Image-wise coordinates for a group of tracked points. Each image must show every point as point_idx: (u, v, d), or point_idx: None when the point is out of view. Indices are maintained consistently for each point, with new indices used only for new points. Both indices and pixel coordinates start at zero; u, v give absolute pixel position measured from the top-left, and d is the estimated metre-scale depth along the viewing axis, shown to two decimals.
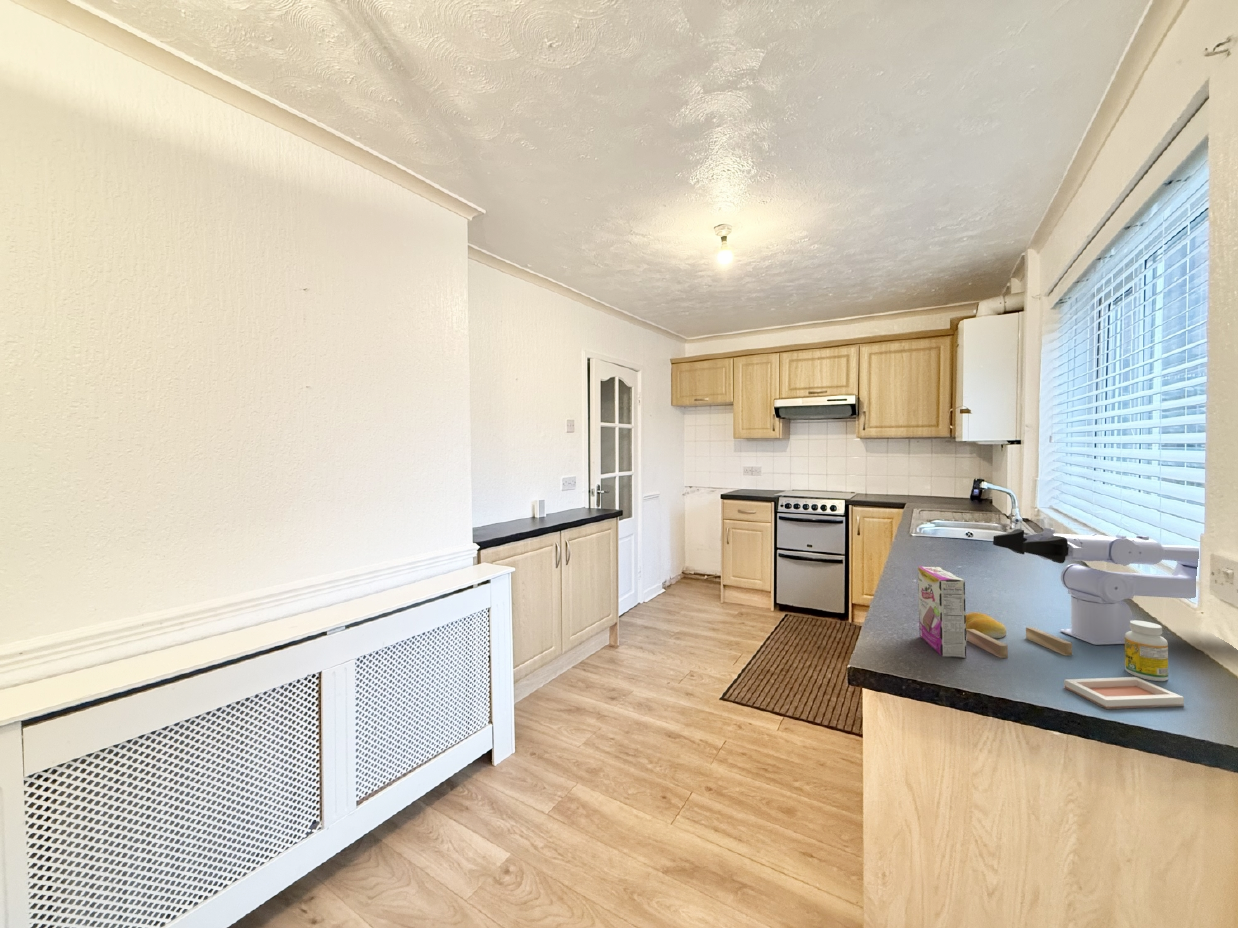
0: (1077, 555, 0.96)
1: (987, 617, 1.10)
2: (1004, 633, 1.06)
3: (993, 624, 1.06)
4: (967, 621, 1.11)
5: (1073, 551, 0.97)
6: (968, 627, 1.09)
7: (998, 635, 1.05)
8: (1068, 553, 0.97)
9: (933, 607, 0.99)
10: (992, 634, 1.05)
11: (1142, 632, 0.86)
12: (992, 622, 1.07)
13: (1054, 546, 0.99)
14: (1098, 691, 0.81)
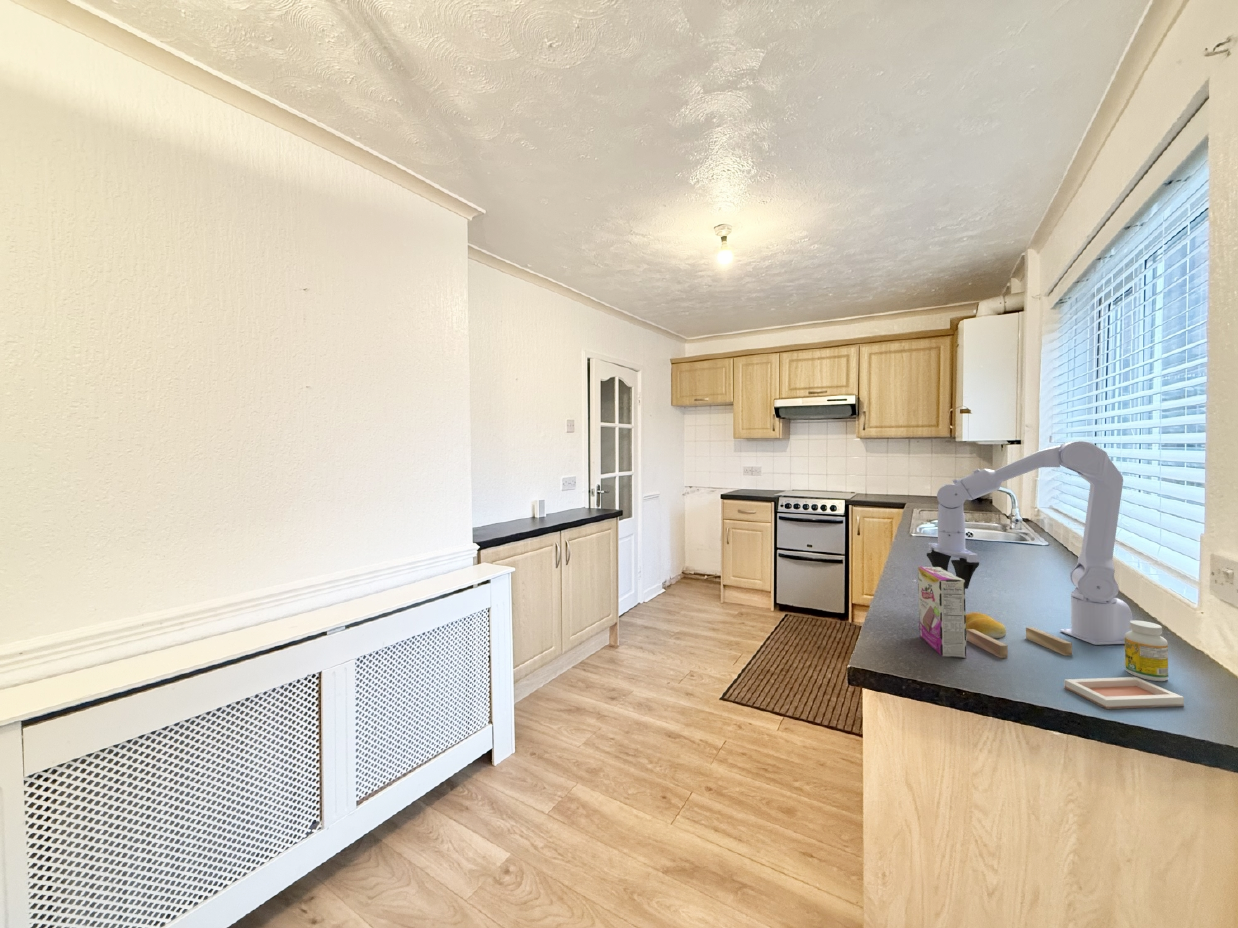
0: (976, 558, 1.12)
1: (987, 617, 1.10)
2: (1004, 633, 1.06)
3: (993, 624, 1.06)
4: (967, 621, 1.11)
5: (972, 561, 1.12)
6: (968, 627, 1.09)
7: (998, 635, 1.05)
8: None
9: (933, 607, 0.99)
10: (992, 634, 1.05)
11: (1142, 632, 0.86)
12: (992, 622, 1.07)
13: None
14: (1098, 691, 0.81)
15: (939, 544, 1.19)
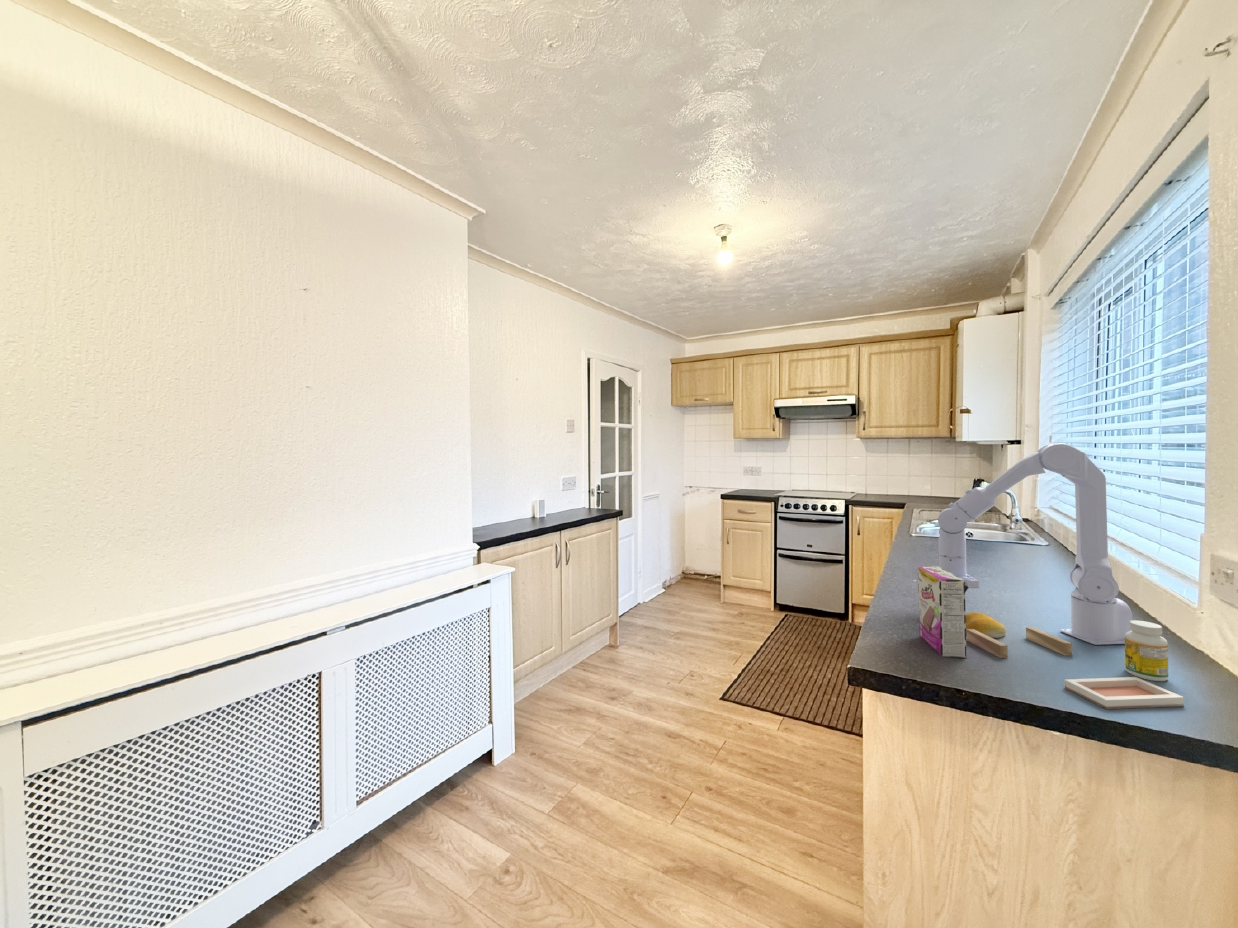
0: (977, 584, 1.12)
1: (986, 617, 1.10)
2: (1004, 633, 1.06)
3: (993, 624, 1.06)
4: (967, 621, 1.11)
5: (974, 587, 1.12)
6: (968, 627, 1.09)
7: (998, 635, 1.05)
8: None
9: (933, 607, 0.99)
10: (992, 633, 1.05)
11: (1142, 632, 0.86)
12: (992, 622, 1.07)
13: None
14: (1098, 691, 0.81)
15: None
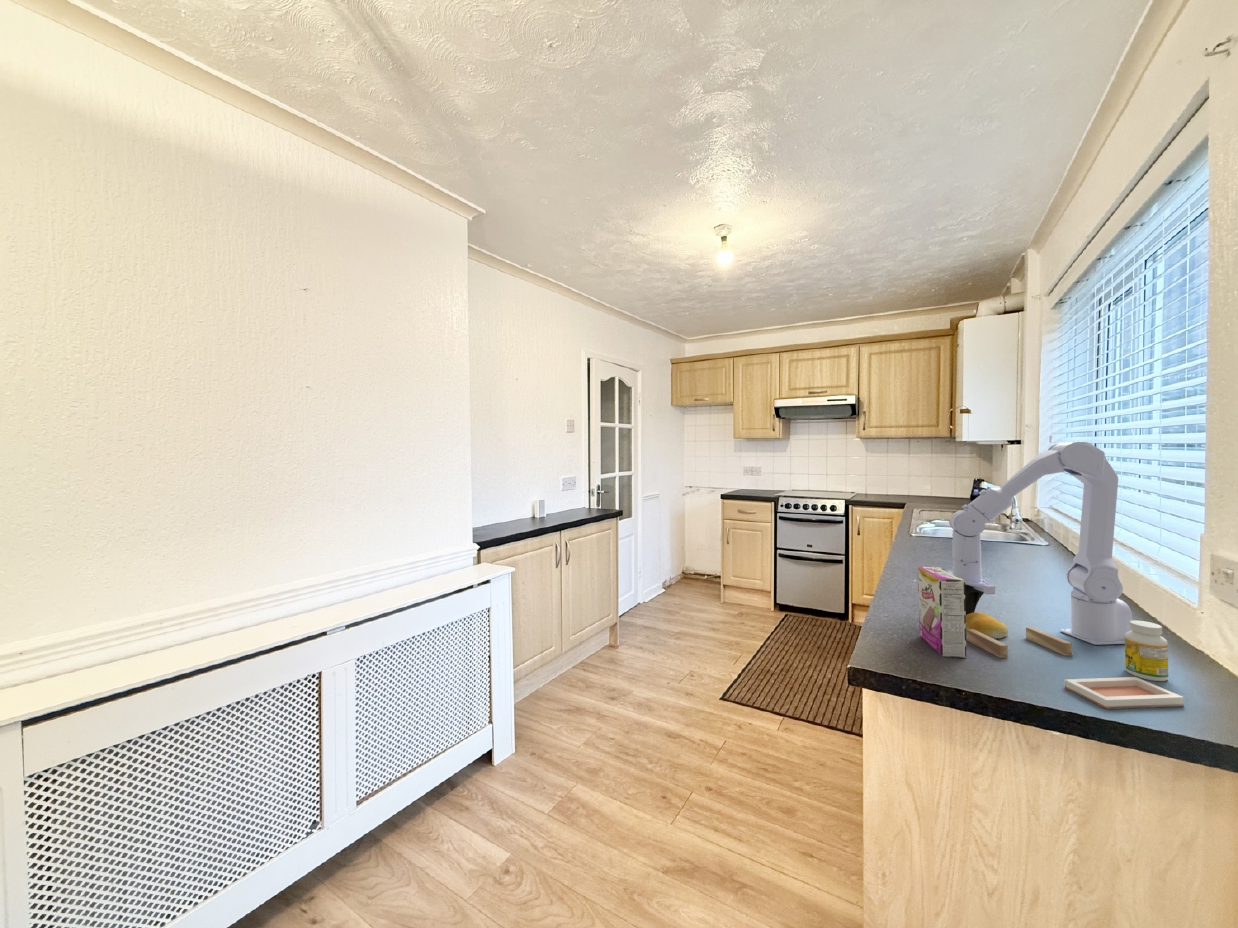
0: (993, 590, 1.07)
1: (988, 617, 1.10)
2: (1006, 633, 1.06)
3: (995, 624, 1.06)
4: (968, 621, 1.10)
5: (990, 593, 1.07)
6: (970, 627, 1.08)
7: (1000, 635, 1.05)
8: None
9: (933, 607, 0.99)
10: (995, 634, 1.05)
11: (1142, 632, 0.86)
12: (994, 622, 1.06)
13: None
14: (1098, 691, 0.81)
15: (954, 573, 1.15)
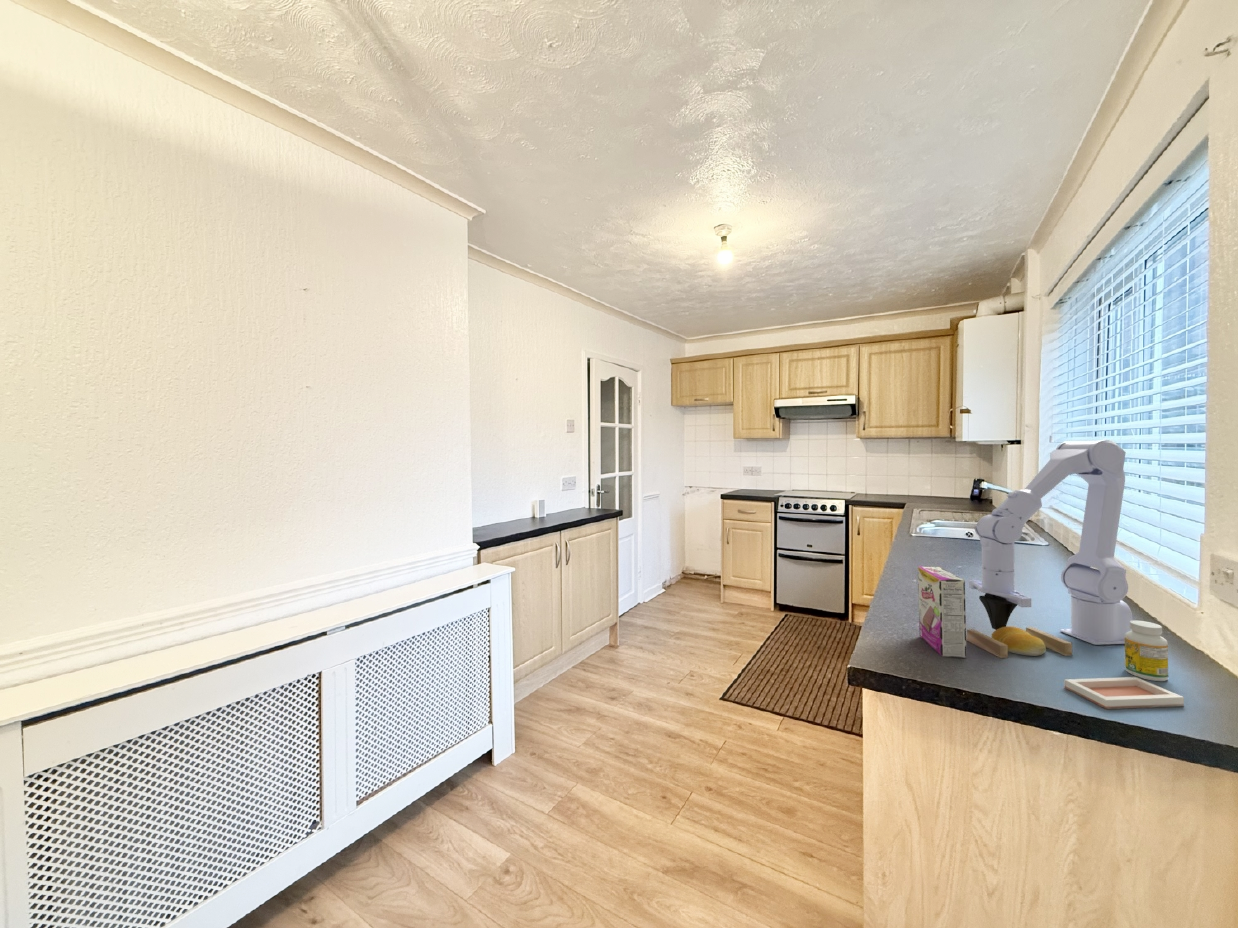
0: (1029, 602, 0.98)
1: (1023, 631, 1.01)
2: (1044, 650, 0.96)
3: (1033, 640, 0.97)
4: (1002, 636, 1.01)
5: (1025, 606, 0.98)
6: (1004, 643, 0.99)
7: (1039, 652, 0.96)
8: None
9: (933, 607, 0.99)
10: (1033, 651, 0.96)
11: (1142, 632, 0.86)
12: (1031, 638, 0.97)
13: None
14: (1098, 691, 0.81)
15: (984, 583, 1.05)
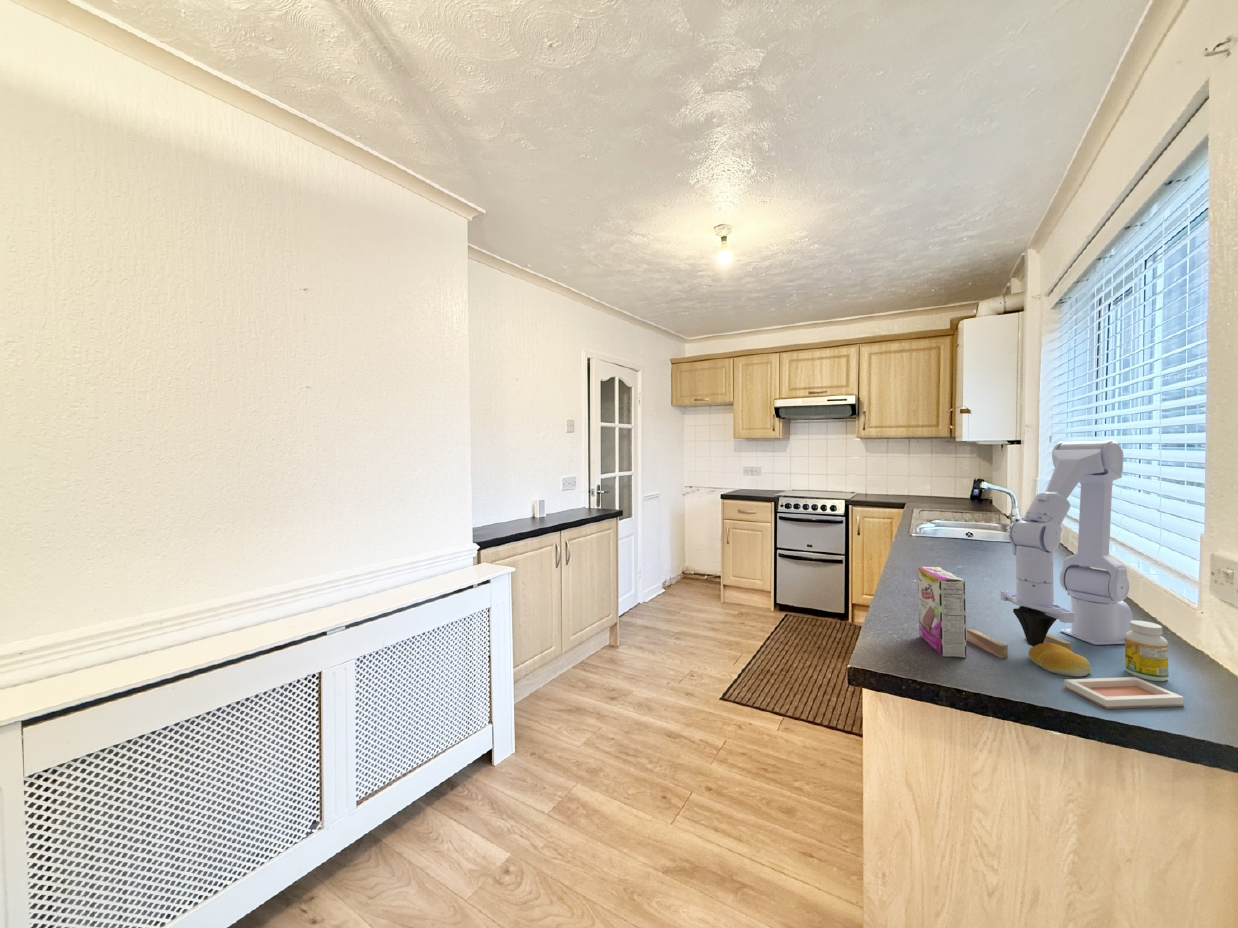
0: (1072, 617, 0.89)
1: (1064, 649, 0.92)
2: (1090, 670, 0.87)
3: (1077, 659, 0.88)
4: (1041, 654, 0.92)
5: (1068, 621, 0.89)
6: (1045, 662, 0.90)
7: (1084, 673, 0.87)
8: None
9: (933, 607, 0.99)
10: (1078, 671, 0.87)
11: (1142, 632, 0.86)
12: (1075, 656, 0.88)
13: None
14: (1098, 691, 0.81)
15: (1019, 595, 0.96)
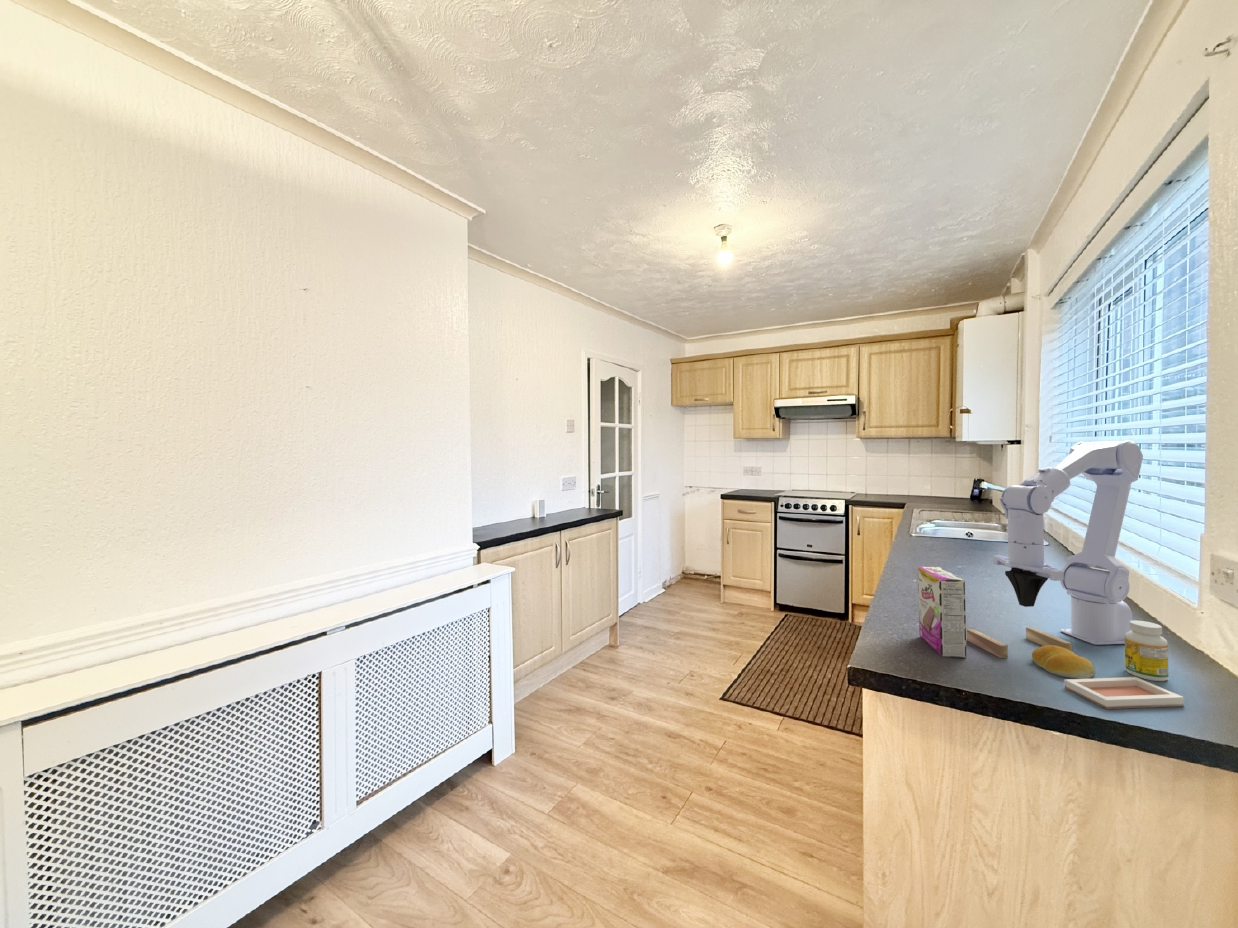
0: (1062, 575, 0.92)
1: (1067, 651, 0.91)
2: (1094, 672, 0.87)
3: (1081, 661, 0.87)
4: (1044, 657, 0.91)
5: (1058, 579, 0.92)
6: (1048, 665, 0.89)
7: (1088, 675, 0.86)
8: None
9: (933, 607, 0.99)
10: (1082, 674, 0.86)
11: (1142, 632, 0.86)
12: (1079, 659, 0.87)
13: None
14: (1098, 691, 0.81)
15: (1011, 557, 1.00)
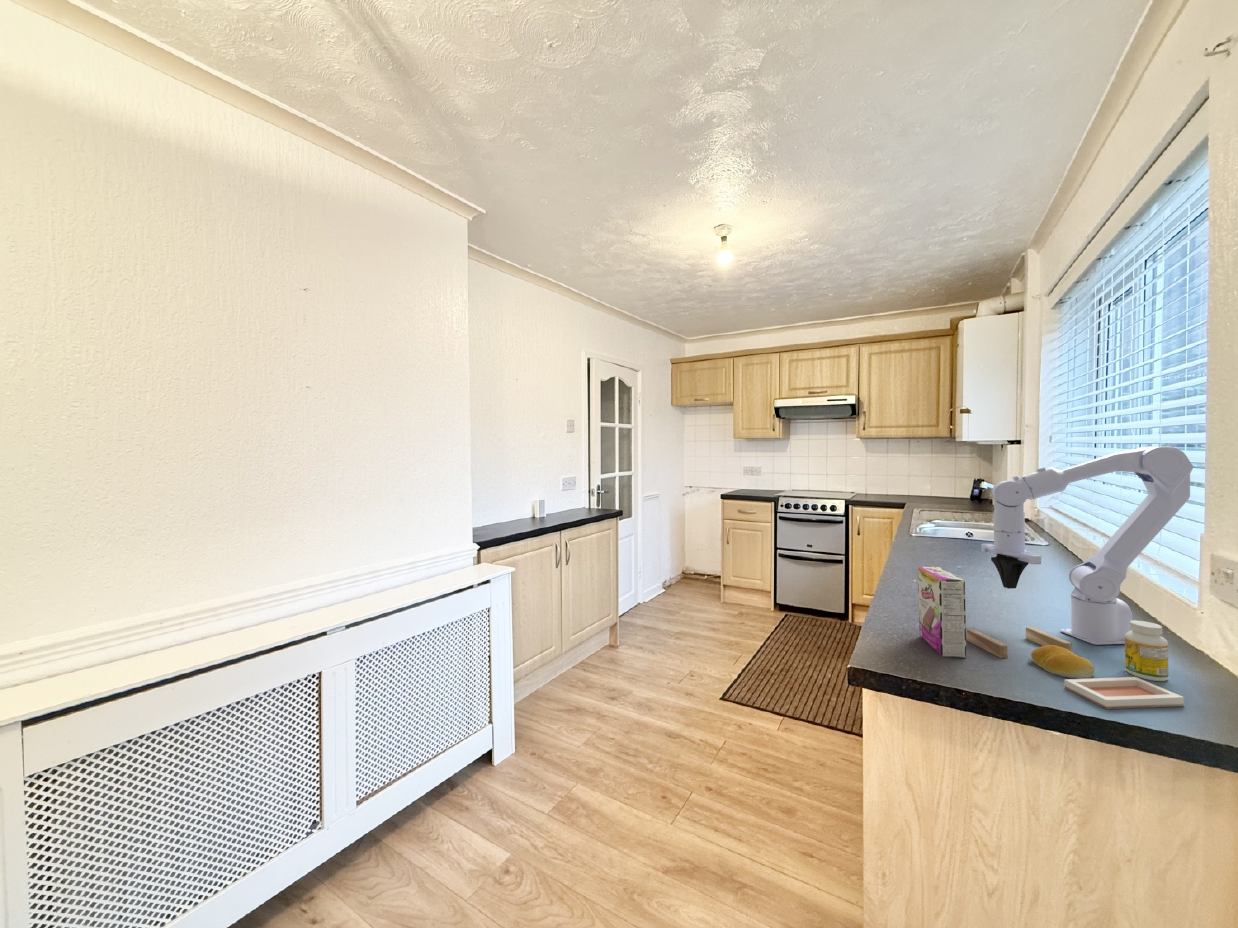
0: (1039, 560, 1.05)
1: (1067, 651, 0.91)
2: (1093, 672, 0.87)
3: (1081, 661, 0.87)
4: (1044, 657, 0.91)
5: (1036, 563, 1.05)
6: (1048, 665, 0.89)
7: (1087, 675, 0.86)
8: None
9: (933, 607, 0.99)
10: (1081, 674, 0.86)
11: (1142, 632, 0.86)
12: (1078, 659, 0.87)
13: None
14: (1098, 691, 0.81)
15: (996, 545, 1.12)
